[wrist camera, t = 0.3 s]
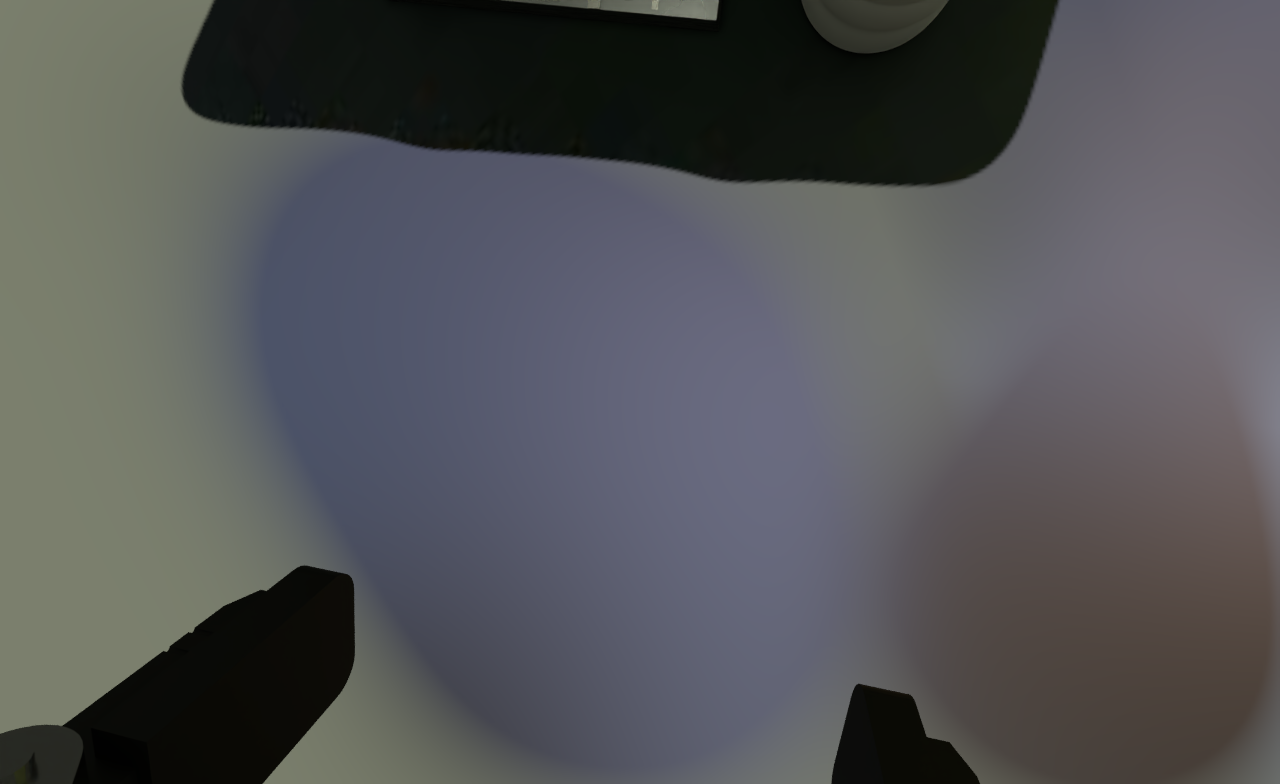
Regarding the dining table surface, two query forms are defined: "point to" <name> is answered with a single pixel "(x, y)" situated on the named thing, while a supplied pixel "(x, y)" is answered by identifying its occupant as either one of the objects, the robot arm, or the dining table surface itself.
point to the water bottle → (870, 21)
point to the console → (609, 10)
